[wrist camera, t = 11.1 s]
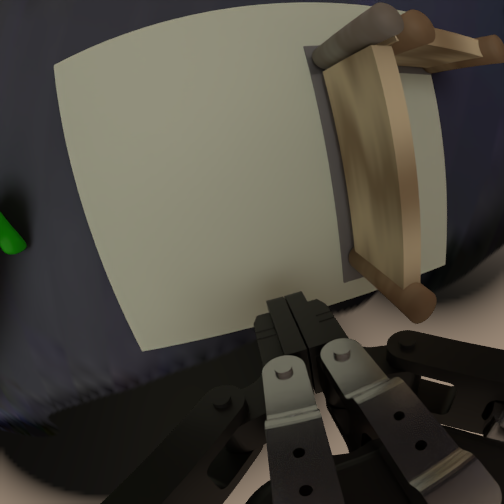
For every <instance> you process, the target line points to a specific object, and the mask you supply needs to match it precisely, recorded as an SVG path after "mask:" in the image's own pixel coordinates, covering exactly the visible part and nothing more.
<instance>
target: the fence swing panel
mask: <svg viewBox="0 0 504 504" xmlns="http://www.w3.org/2000/svg"><path fill="white" fill-rule="evenodd" d="M403 29H404V22H403V19H402V17H401V15H400V14H399V12H398V11H397V10H396V9H395V8H393V7H392V6H390V5H388V4H386V3H376V4H375V5H373V6H372V7H370V8H369V9H368V10H366V11H365V12H363V13H362V14H360V15H359V16H358V17H356V18H355V19H354V20H352V21H351V22H350V23H348V24H347V25H345V26H344V27H343V28H342V29H340V30H339V31H338V32H336V33H335V34H334V35H332V36H331V37H330V38H329V39H327V40H326V41H325V42H324V43H322V44H321V45H320V46H319V47H317V48H316V49H315V50H314V51H313V53H312V59H313V61H314V63H315V64H316V65H317V66H318V67H320V68H322V69H326V70H325V71H323V75H324V79H325V83H326V87H327V91H328V95H329V99H330V103H331V107H332V112H333V116H334V121H335V126H336V130H337V135H338V140H339V145H340V151H341V156H342V161H343V167H344V173H345V179H346V185H347V192H348V198H349V205H350V213H351V220H352V229H353V237H354V246H355V247H353V249H352V250H351V251H350V254H349V263H350V264H351V266H352V267H354V268H355V269H356V270H357V271H358V272H359V273H360V274H361V275H362V276H364V277H365V278H366V279H367V280H368V281H369V282H370V283H371V284H372V285H373V286H374V287H376V288H377V289H378V290H379V291H380V292H381V293H382V294H383V295H384V296H385V297H386V298H387V299H388V300H390V301H391V302H392V303H393V304H394V305H395V306H396V307H397V308H398V309H399V310H400V311H401V312H402V313H403V314H404V315H405V316H406V317H408V319H409V320H410V321H412V322H413V323H416V324H418V323H421V322H423V321H425V320H426V319H428V318H429V316H430V315H431V314H432V313H433V311H434V309H435V306H436V296H435V294H434V293H433V292H431V291H430V290H429V289H427V288H426V287H425V286H423V285H422V284H421V283H420V275H421V226H420V204H419V190H418V179H417V169H416V161H415V153H414V145H413V139H412V132H411V126H410V121H409V115H408V110H407V105H406V100H405V96H404V91H403V87H402V82H401V78H400V74H399V70H398V67H397V63H396V59H395V56H394V52H393V49H392V46H382V45H376V44H378V43H380V42H382V41H385V40H387V39H389V38H391V37H393V36H395V35H397V34H400V33H401V32H402V31H403Z"/></svg>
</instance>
